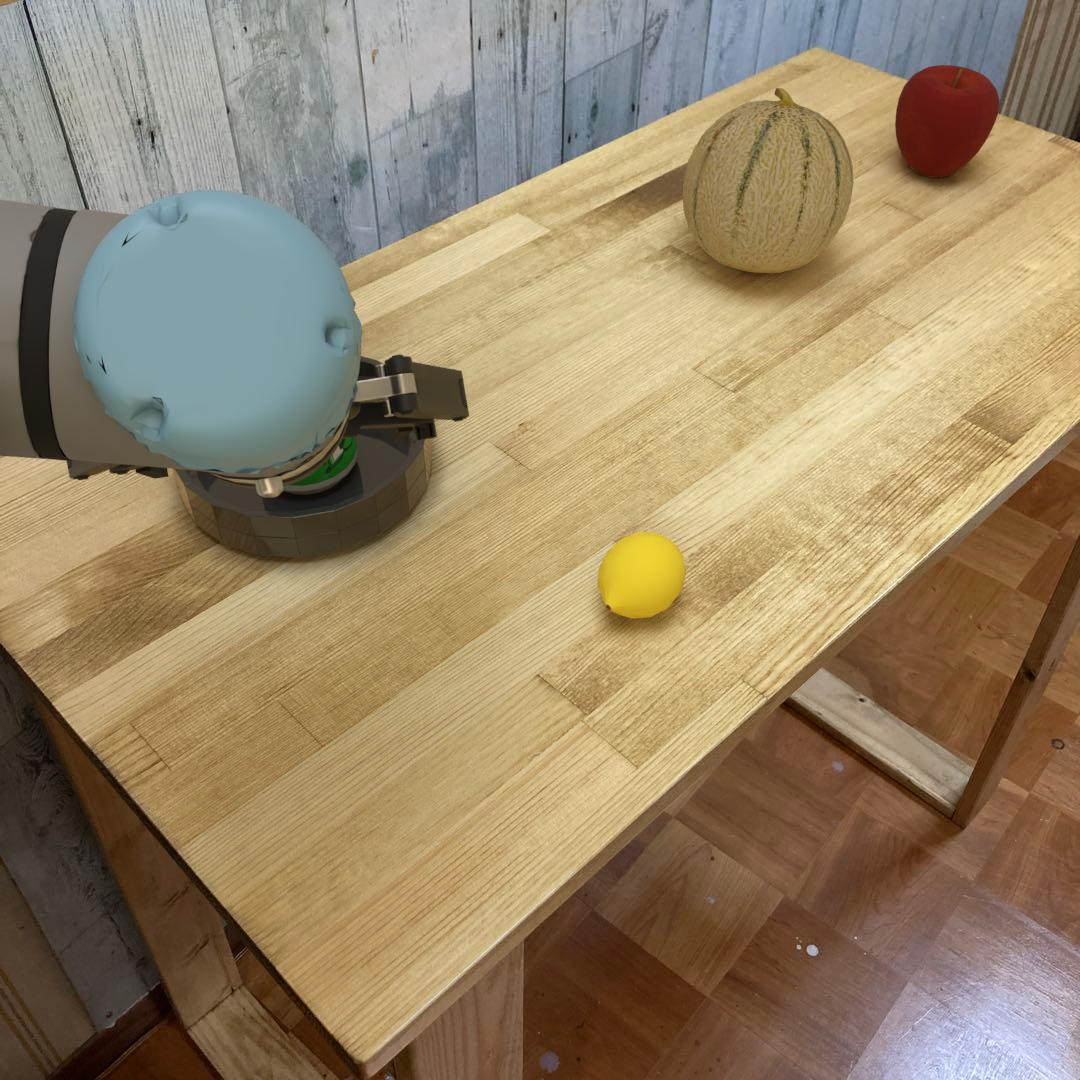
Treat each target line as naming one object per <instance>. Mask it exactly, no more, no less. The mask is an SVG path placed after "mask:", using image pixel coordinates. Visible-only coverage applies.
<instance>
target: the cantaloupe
mask: <svg viewBox="0 0 1080 1080" xmlns="http://www.w3.org/2000/svg"><path fill="white" fill-rule="evenodd" d="M774 96H776V97H777V98H778V99H779V100H769V99H768V100H767V99H763V100H755V101H747V102H745V103H743V104H741V105H738V106H736V107H734V108H732V109H730V110H728V111H727V112H726V113H724V114H723V115H721V116H720V117H719V118H718V119H716V120H715V122H714V123H712V124H711V125H710V126H709V127H707V129H706V130H705V131H704V132H703V133H702V135H701V136H700V138H699V139H698V141H697V143H696V144H695V146H694V148H693V150H692V152H691V155H690V157H689V158H688V160H687V165H686V169H685V173H684V176H683V184H682V207H683V212H684V217H685V221H686V222H687V227H688V229H689V231H690V232H691V233H692V236H693V237H694V239H695V240H696V242H697V244H698V245H699V246H700V247H701V249H702V250H704V251H705V253H706V254H707V255H709V256H710V257H711V258H712V259H713V260H714V261H716V262H717V263H718V264H721V265H722V266H726V267H728V268H731V269H734V270H738V271H744V272H748V273H754V274H755V273H756V274H779V273H784V272H789V271H792V270H795V269H799V268H801V267H803V266H805V265H807V264H809V263H811V262H812V261H814V260H815V259H816V258H817V257H818V256H819V255H820V254H822V253H823V252H824V250H825V249H827V248H828V247H830V245H831V243H832V241H833V240H834V239H835V237H836V236H837V234H838V233H839V231H840V230H841V227H842V226H843V224H844V222H845V220H846V217H847V214H848V213H849V210H850V206H851V202H852V201H851V200H852V195H853V191H854V190H853V189H854V167H853V161H852V158H851V154H850V150H849V148H848V146H847V144H846V141H845V139H844V137H843V136H842V134H841V132H840V131H839V129H838V128H837V127H836V126H835V125H834V124H833V123H832V122H831V121H830V120H829V119H827V118H826V117H825V116H824V115H822V114H821V113H819V112H817V111H814V110H813V109H810V108H809V107H807V106H806V107H805V106H802V105H799V104H798V103H796V102H795V101H794V100H793V98H792V97H791V96H790V94H789V92H788V91H786V90H785V89H784V88H783V87H782V88H781V87H776V88H775V90H774Z"/></svg>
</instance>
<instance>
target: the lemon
mask: <svg viewBox="0 0 1080 1080" xmlns="http://www.w3.org/2000/svg"><path fill="white" fill-rule="evenodd" d="M597 575H598V576H597V589H598V591H599V593H600V596H601V599H602V601H603V604H604V606H605V608H606V610H608V611H610V612H612V613H614V614H617V615H618V616H622V617H626V618H629V619H632V620H633V619H644V618H651V617H653V616H656V615H657V614H659V613H661V612H663V611H665V610H667V609H668V608H670V607H671V606H672V604H673V602H674V601H675V599H676V598H677V597H678V596H679V594H680V593H681V592H682V590H683V587H684V583H685V579H686V575H687V568H686V565H685V559H684V555H683V553H682V551H681V550H680V547H679V546H678V545H676V544H675V542H673V541H672V540H671V539H670V538H667V536H664V535H663V534H660V533H659V532H650V531H638V532H635V533H632V534H629V535H627V536H623V537H621V539H619V540H618V541H617V542H616V543H615V544H614V545H612V547H610V548H609V549H608V550H607V552H606V553H605V555H604V557H603V559H602V562H601V563H600V565H599V567H598V571H597Z"/></svg>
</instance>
